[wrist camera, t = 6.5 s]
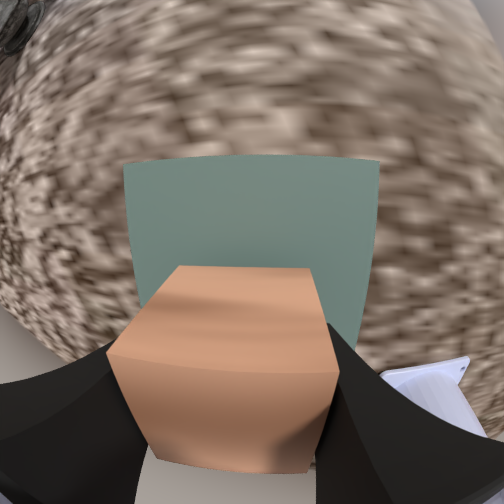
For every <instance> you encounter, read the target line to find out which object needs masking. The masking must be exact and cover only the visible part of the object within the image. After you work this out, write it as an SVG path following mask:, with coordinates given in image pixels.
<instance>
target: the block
mask: <svg viewBox="0 0 504 504" xmlns="http://www.w3.org/2000/svg"><path fill="white" fill-rule="evenodd" d="M106 354H107V357H108V359H109V362H110V365H111V367H112V370H113V372H114V375H115V377H116V380H117V382H118V384H119V387H120V389H121V391H122V393H123V396H124V398H125V400H126V402H127V404H128V406H129V408H130V410H131V412H132V414H133V416H134V418H135V420H136V422H137V424H138V426H139V428H140V430H141V432H142V434H143V435H144V437H145V439H146V441H147V443H148V444H149V446H150V448H151V449H152V451H153V453H154V454H155V456H156V458H157V459H161V460H165V461H170V462H174V463H179V464H184V465H189V466H196V467H201V468H207V469H215V470H223V471H233V472H245V473H264V474H295V473H307V472H308V469H309V467H310V464H311V461H312V459H313V456H314V453H315V451H316V448H317V445H318V442H319V439H320V436H321V434H322V431H323V428H324V424H325V421H326V418H327V415H328V412H329V408H330V405H331V402H332V398H333V395H334V391H335V387H336V384H337V380H338V376H339V372H340V371H339V367H338V363H337V360H336V356H335V352H334V348H333V345H332V341H331V338H330V334H329V331H328V327H327V324H326V320H325V317H324V313H323V310H322V307H321V303H320V300H319V297H318V293H317V290H316V287H315V284H314V280H313V277H312V274H311V271H310V268H266V267H219V266H182V265H179V266H178V267H177V268H176V270H175V271H174V272H173V273H172V274H171V275H170V276H169V278H168V279H167V280H166V281H165V282H164V283H163V284H162V286H161V287H160V288H159V289H158V290H157V291H156V293H155V294H154V295H153V296H152V297H151V298H150V300H149V301H148V302H147V303H146V304H145V306H144V307H143V308H142V309H141V310H140V312H139V313H138V314H137V315H136V316H135V318H134V319H133V320H132V321H131V322H130V324H129V325H128V326H127V327H126V329H125V330H124V331H123V332H122V333H121V335H120V336H119V337H118V338H117V340H116V341H115V342H114V343H113V345H112V346H111V347H110V348H109V350H108V351H107V352H106Z"/></svg>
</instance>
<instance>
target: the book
mask: <svg viewBox="0 0 504 504" xmlns="http://www.w3.org/2000/svg"><path fill="white" fill-rule="evenodd" d="M123 170H124V188H125V201H126V213H127V222H128V231H129V239H130V247H131V254H132V261H133V267H134V273H135V279H136V284H137V290H138V295H139V300H140V305H141V309H142V308H143V307H144V306H145V304H146V303H147V302H148V301H149V300H150V298H151V297H152V296H153V295H154V294H155V293H156V291H157V290H158V289H159V288H160V287H161V286H162V284H163V283H164V282H165V281H166V280H167V279H168V278H169V276H170V275H171V274H172V273H173V272H174V271H175V270H176V268H177V267H178V266H179V265H182V266H219V267H266V268H310V271H311V274H312V277H313V280H314V284H315V287H316V290H317V293H318V297H319V300H320V303H321V307H322V310H323V313H324V317H325V320H326V323H330V324H331V325H332V327H333V328H334V329H335V330H336V331H337V332H338V333H339V334H340V336H341V337H342V338H343V339H344V340H345V341H346V342H347V343H348V345H349V346H350V347H351V348H352V349H353V350H354V351H355V347H356V343H357V338H358V334H359V330H360V325H361V320H362V315H363V310H364V305H365V300H366V294H367V289H368V283H369V276H370V270H371V263H372V255H373V247H374V239H375V229H376V219H377V206H378V190H379V161H374V160H364V159H353V158H341V157H326V156H306V155H224V156H203V157H188V158H176V159H165V160H155V161H146V162H138V163H130V164H123Z"/></svg>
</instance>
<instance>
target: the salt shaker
mask: <svg viewBox="0 0 504 504" xmlns="http://www.w3.org/2000/svg"><path fill="white" fill-rule="evenodd" d="M44 11H45V4H44V2H42V1H38V2H35V3H33V4H32V5H30V6H29V7H28V0H0V48H1V47H2V46H4V53H5V55H6V56H12V55H15V54H16V53H17V52H18V51H19V50H20V49H21V48H22V47H23V46H24V45H25V44H26V43H27V41H28V40H29V39H30V37H31V36H32V35H33V33H34V32H35V30H36V28H37V26H38V25H39V23H40V21H41V19H42V17H43V14H44Z"/></svg>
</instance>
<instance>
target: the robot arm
mask: <svg viewBox="0 0 504 504" xmlns="http://www.w3.org/2000/svg"><path fill="white" fill-rule="evenodd" d="M326 324H327V327H328V331H329V334H330V338H331V341H332V345H333V348H334V352H335V356H336V360H337V363H338V367H339V371H340V372H339V376H338V380H337V384H336V387H335V391H334V395H333V398H332V402H331V405H330V408H329V412H328V415H327V418H326V421H325V424H324V428H323V431H322V434H321V436H320V439H319V442H318V445H317V448H316V451H315V459H316V504H504V442H500V441H496V440H493V439H489V438H487V436H486V434H485V432H484V430H483V428H482V426H481V425H480V423H479V421H478V419H477V417H476V416H475V414H474V412H473V410H472V409H471V407H470V405H469V403H468V402H467V400H466V398H465V397H464V395H463V393H462V392H461V390H460V389H459V387H458V383H459V381H460V380H461V378H462V376H463V374H464V372H465V370H466V368H467V366H468V364H469V362H470V359H469V358H468V357H467V356H464V357H460V358H456V359H451V360H447V361H442V362H437V363H432V364H426V365H421V366H415V367H409V368H402V369H395V370H387V371H384V372H382V373H381V374H380V375H378V374H377V373H376V372H375V371H374V370H373V369H372V368H371V367H370V366H368V365H367V364H366V363H365V362H364V361H363V359H362V358H361V357H360V356H359V355H358V354H357V353H356V352H355V351H354V350H353V349H352V348H351V347H350V346H349V345H348V343H347V342H346V341H345V340H344V339H343V338H342V337H341V336H340V334H339V333H338V332H337V331H336V330H335V329H334V328H333V327H332V325H331V324H330V323H326ZM116 340H117V339H115V340H113V341H112V342H110V343H108V344H106V345H105V346H103V347H101V348H99V349H97V350H96V351H94V352H92V353H90V354H88V355H87V356H85V357H83V358H81V359H79V360H77V361H75V362H72V363H70V364H68V365H65V366H63V367H61V368H58V369H56V370H53V371H50V372H47V373H44V374H41V375H38V376H35V377H32V378H28V379H24V380H20V381H15V382H10V383H4V384H0V504H134V502H135V496H136V491H137V486H138V481H139V477H140V473H141V468H142V465H143V461H144V457H145V454H146V451H147V447H148V443H147V441H146V439H145V437H144V435H143V434H142V432H141V430H140V428H139V426H138V424H137V422H136V420H135V418H134V416H133V414H132V412H131V410H130V408H129V406H128V404H127V402H126V400H125V398H124V396H123V393H122V391H121V389H120V387H119V384H118V382H117V380H116V377H115V375H114V372H113V370H112V367H111V365H110V362H109V359H108V357H107V354H106V352H107V351H108V350H109V348H110V347H111V346H112V345H113V343H114V342H115V341H116Z"/></svg>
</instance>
